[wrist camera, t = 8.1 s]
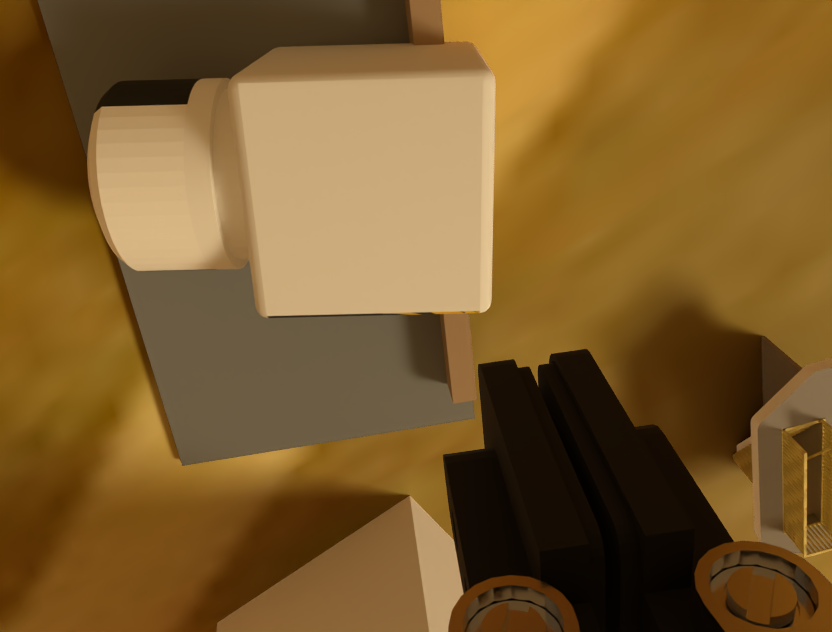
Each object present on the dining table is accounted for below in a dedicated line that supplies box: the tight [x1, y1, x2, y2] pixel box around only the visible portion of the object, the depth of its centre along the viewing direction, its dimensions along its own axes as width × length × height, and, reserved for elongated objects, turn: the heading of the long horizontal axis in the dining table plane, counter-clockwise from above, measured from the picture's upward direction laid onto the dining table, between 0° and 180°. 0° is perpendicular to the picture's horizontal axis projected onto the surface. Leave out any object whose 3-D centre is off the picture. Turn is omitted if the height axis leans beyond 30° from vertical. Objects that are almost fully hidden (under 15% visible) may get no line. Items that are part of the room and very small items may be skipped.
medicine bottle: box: [87, 42, 496, 318], centre depth 24 cm, size 7×7×12 cm
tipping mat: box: [38, 0, 477, 466], centre depth 27 cm, size 13×24×2 cm, turn 6°
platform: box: [732, 336, 832, 558], centre depth 33 cm, size 12×18×7 cm, turn 13°
